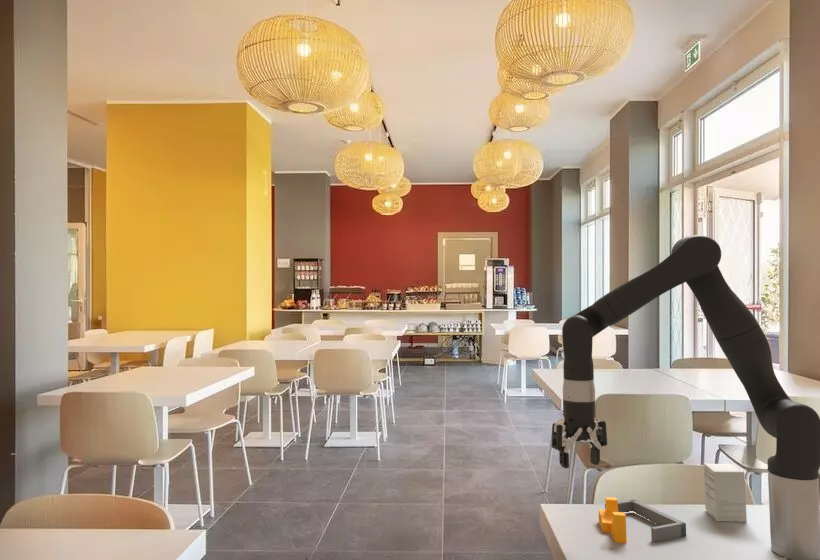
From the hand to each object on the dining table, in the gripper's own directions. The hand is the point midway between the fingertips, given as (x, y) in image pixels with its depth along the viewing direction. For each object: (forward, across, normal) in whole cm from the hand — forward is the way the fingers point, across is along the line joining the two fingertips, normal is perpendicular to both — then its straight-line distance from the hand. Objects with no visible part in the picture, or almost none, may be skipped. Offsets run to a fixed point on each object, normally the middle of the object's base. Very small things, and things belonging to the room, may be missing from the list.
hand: (580, 465), depth 130 cm
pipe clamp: (+17, +8, -1) cm, 19 cm away
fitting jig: (+16, +18, -1) cm, 24 cm away
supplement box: (+16, +42, -4) cm, 45 cm away
